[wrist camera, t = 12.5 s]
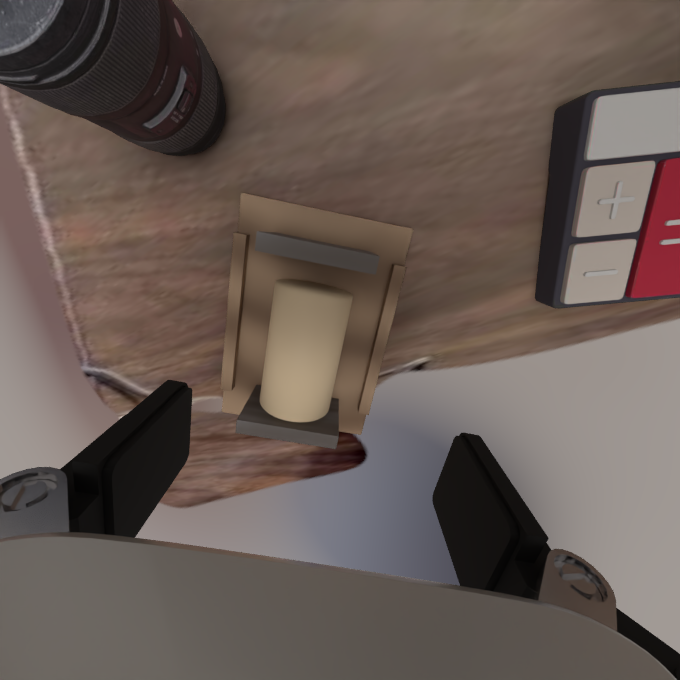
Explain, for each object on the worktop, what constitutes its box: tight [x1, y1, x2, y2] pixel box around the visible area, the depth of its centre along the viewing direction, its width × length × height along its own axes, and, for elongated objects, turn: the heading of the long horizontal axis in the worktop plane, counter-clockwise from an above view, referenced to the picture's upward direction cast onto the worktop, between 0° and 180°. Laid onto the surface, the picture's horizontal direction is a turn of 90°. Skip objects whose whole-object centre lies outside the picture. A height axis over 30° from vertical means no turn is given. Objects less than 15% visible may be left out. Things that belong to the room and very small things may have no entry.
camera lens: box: [0, 0, 225, 156], centre depth 16 cm, size 8×8×15 cm
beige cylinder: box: [260, 279, 353, 422], centre depth 25 cm, size 10×6×6 cm
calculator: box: [535, 81, 680, 308], centre depth 24 cm, size 11×4×15 cm
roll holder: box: [221, 193, 413, 449], centre depth 26 cm, size 20×14×7 cm
